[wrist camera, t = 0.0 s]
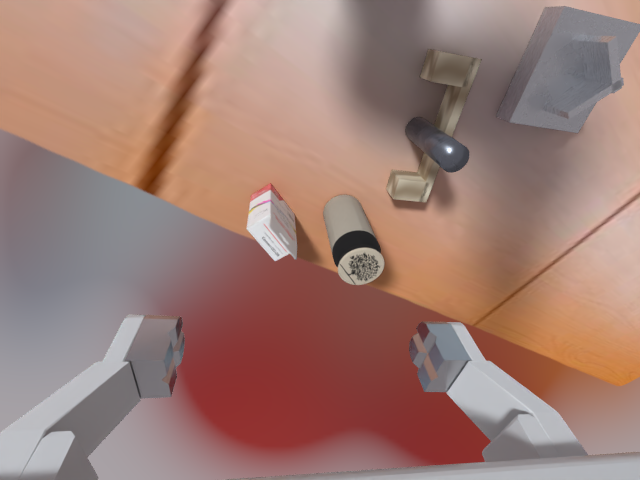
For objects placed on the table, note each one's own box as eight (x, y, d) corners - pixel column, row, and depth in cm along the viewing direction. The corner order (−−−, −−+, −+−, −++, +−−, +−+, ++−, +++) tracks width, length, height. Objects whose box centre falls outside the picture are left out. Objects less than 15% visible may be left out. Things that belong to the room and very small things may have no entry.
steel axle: (409, 115, 55) (447, 142, 42) (430, 118, 55) (474, 146, 43) (402, 138, 57) (436, 170, 45) (422, 141, 58) (462, 173, 45)
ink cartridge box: (249, 195, 60) (242, 239, 48) (271, 182, 59) (269, 223, 47) (275, 226, 64) (274, 273, 53) (295, 215, 63) (300, 260, 51)
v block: (545, 7, 48) (593, 4, 40) (619, 24, 50) (678, 25, 43) (495, 116, 56) (528, 130, 49) (561, 126, 59) (601, 141, 52)
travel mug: (354, 187, 61) (378, 240, 47) (366, 219, 66) (391, 275, 51) (316, 203, 62) (329, 259, 48) (331, 233, 67) (346, 292, 52)
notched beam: (428, 49, 49) (440, 51, 45) (466, 56, 50) (481, 59, 47) (386, 188, 62) (392, 199, 59) (417, 191, 63) (426, 202, 60)
